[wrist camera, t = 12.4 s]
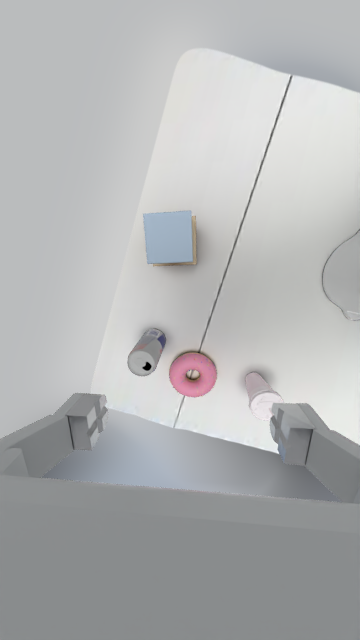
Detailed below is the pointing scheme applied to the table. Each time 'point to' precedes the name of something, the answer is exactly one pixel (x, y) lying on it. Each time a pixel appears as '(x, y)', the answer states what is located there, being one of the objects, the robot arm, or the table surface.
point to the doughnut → (196, 363)
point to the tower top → (193, 247)
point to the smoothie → (261, 396)
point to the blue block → (168, 237)
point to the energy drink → (146, 353)
